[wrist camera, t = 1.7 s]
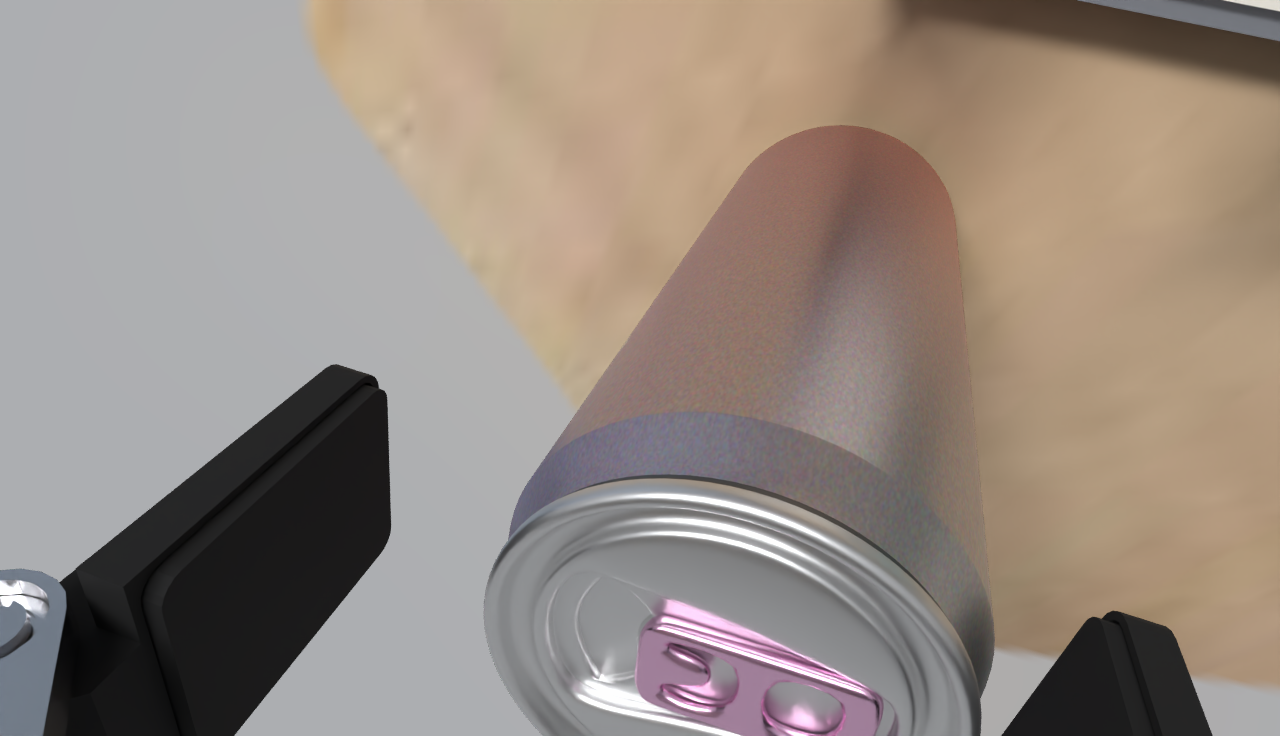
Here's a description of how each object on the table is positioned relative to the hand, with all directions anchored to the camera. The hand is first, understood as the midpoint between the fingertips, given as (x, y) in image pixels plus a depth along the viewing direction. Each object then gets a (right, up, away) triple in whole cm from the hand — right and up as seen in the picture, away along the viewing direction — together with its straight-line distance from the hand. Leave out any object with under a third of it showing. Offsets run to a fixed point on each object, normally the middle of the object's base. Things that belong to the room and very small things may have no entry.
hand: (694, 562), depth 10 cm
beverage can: (+5, +6, +11) cm, 13 cm away
